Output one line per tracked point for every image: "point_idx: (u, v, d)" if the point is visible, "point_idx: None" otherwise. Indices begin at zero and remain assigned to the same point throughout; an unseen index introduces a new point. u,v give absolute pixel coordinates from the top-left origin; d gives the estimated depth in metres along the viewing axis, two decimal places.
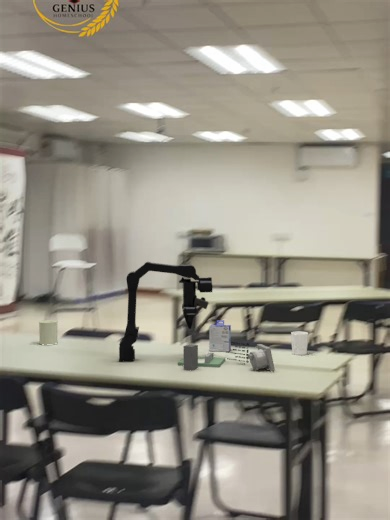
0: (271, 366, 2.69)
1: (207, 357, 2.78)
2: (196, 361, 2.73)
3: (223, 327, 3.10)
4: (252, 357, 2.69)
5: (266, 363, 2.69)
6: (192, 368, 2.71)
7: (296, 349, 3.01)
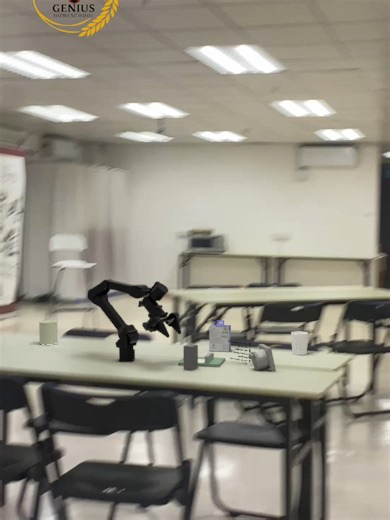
0: (272, 366, 2.68)
1: (207, 357, 2.78)
2: (196, 361, 2.73)
3: (223, 327, 3.10)
4: (253, 357, 2.70)
5: (267, 363, 2.69)
6: (192, 368, 2.71)
7: (296, 349, 3.01)
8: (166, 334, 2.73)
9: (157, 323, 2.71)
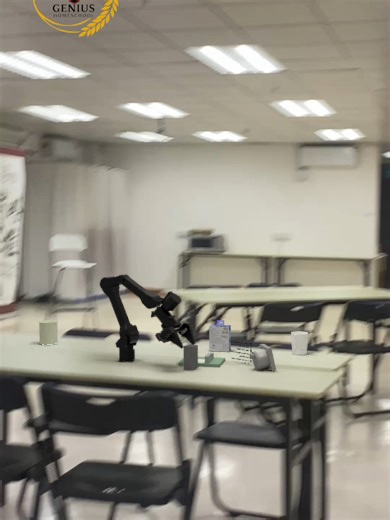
0: (272, 366, 2.68)
1: (207, 357, 2.78)
2: (196, 361, 2.73)
3: (223, 327, 3.10)
4: (253, 357, 2.70)
5: (268, 363, 2.69)
6: (192, 368, 2.71)
7: (296, 349, 3.01)
8: (180, 345, 2.69)
9: (171, 334, 2.68)
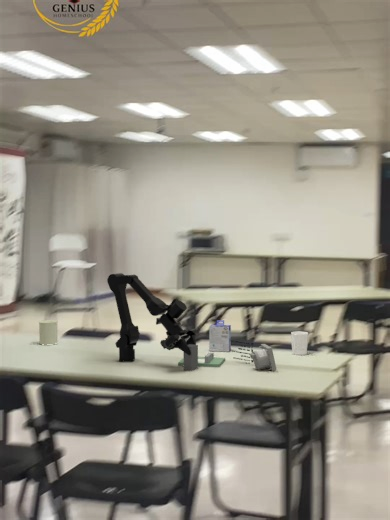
0: (273, 366, 2.68)
1: (207, 357, 2.78)
2: (196, 361, 2.73)
3: (223, 327, 3.10)
4: (254, 357, 2.70)
5: (268, 363, 2.69)
6: (192, 368, 2.71)
7: (296, 349, 3.01)
8: (187, 352, 2.70)
9: (178, 341, 2.68)
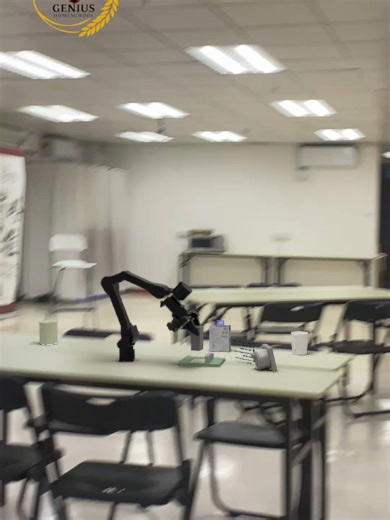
0: (273, 366, 2.68)
1: (207, 357, 2.78)
2: (202, 342, 2.81)
3: (223, 327, 3.10)
4: (254, 356, 2.70)
5: (269, 363, 2.69)
6: (200, 348, 2.78)
7: (296, 349, 3.01)
8: (196, 333, 2.76)
9: (188, 322, 2.74)
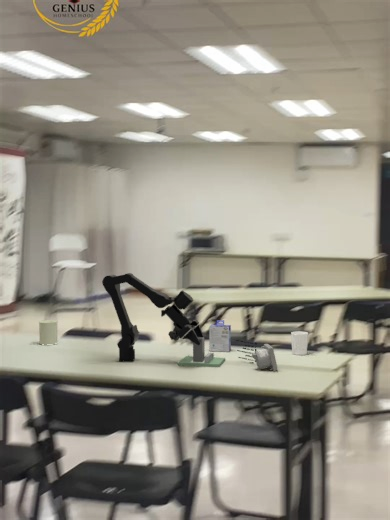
0: (274, 366, 2.68)
1: (207, 357, 2.78)
2: (203, 353, 2.84)
3: (223, 327, 3.10)
4: (255, 356, 2.71)
5: (269, 363, 2.69)
6: (202, 359, 2.81)
7: (296, 349, 3.01)
8: (197, 342, 2.78)
9: (190, 331, 2.75)
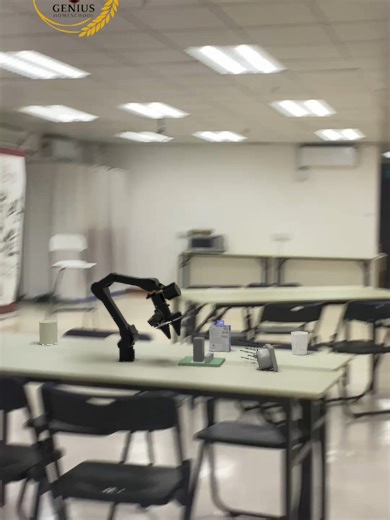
0: (274, 366, 2.68)
1: (207, 357, 2.78)
2: (203, 353, 2.84)
3: (223, 327, 3.10)
4: (256, 356, 2.71)
5: (270, 363, 2.69)
6: (202, 359, 2.81)
7: (296, 349, 3.01)
8: (179, 332, 2.80)
9: (180, 318, 2.79)
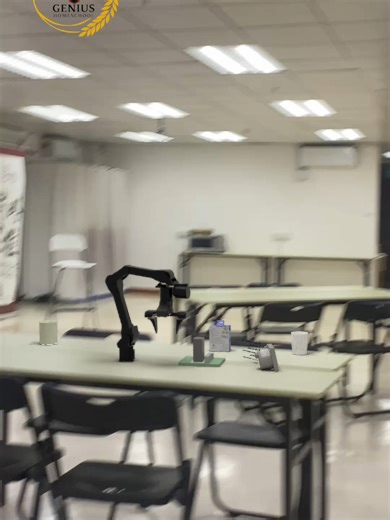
0: (275, 366, 2.68)
1: (207, 357, 2.78)
2: (203, 353, 2.84)
3: (223, 327, 3.10)
4: (257, 356, 2.71)
5: (271, 363, 2.69)
6: (202, 359, 2.81)
7: (296, 349, 3.01)
8: None
9: None
